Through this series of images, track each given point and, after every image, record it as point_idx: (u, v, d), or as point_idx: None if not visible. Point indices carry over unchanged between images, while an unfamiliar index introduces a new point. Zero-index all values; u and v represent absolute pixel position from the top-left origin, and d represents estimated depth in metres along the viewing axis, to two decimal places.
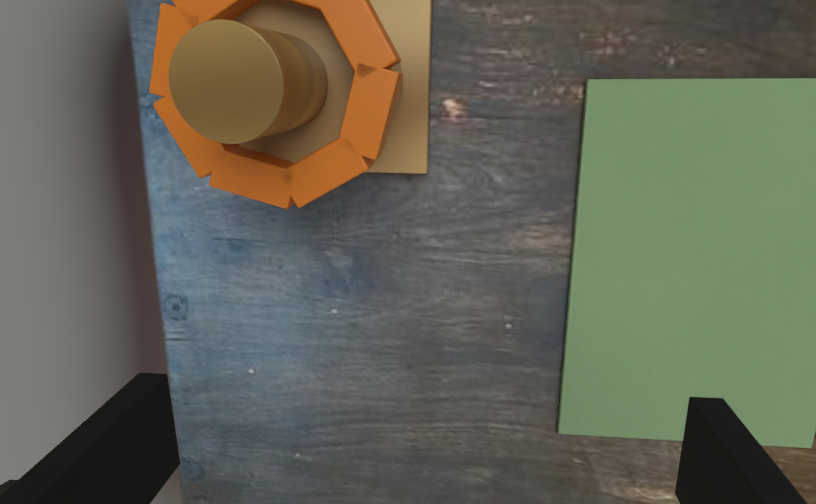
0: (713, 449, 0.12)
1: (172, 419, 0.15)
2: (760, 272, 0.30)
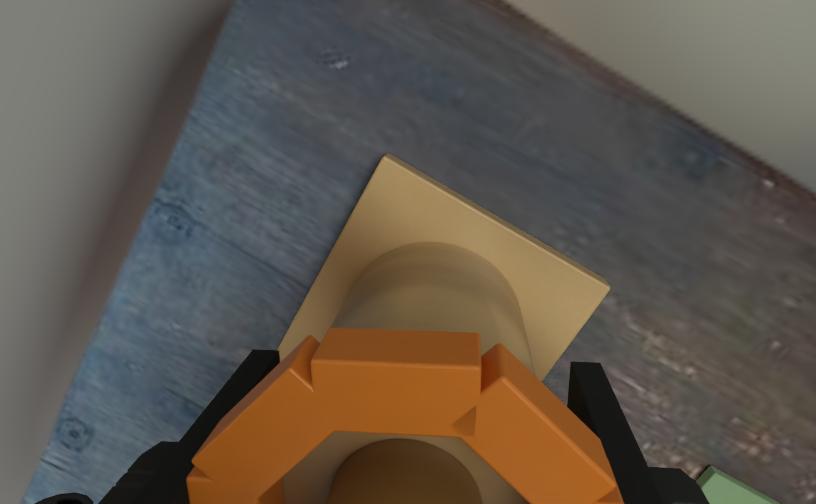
0: (580, 404, 0.14)
1: None
2: None
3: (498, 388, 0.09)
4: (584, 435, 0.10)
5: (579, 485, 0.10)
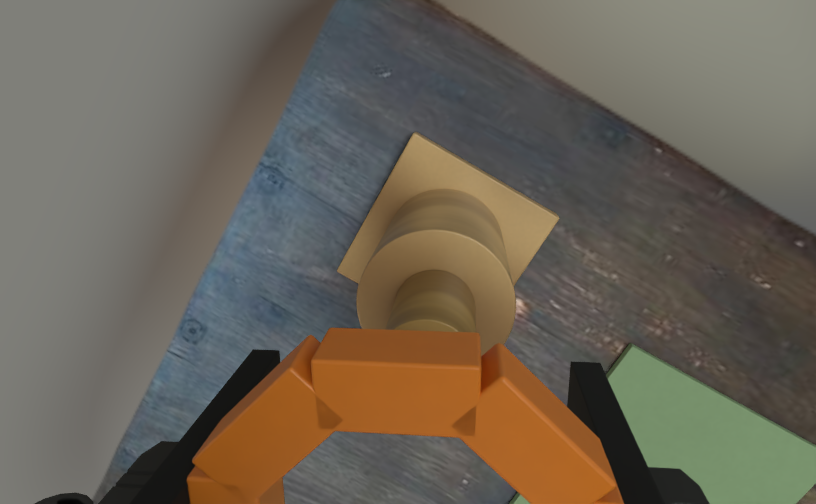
0: (580, 404, 0.14)
1: None
2: None
3: (498, 388, 0.09)
4: (584, 435, 0.10)
5: (579, 485, 0.10)
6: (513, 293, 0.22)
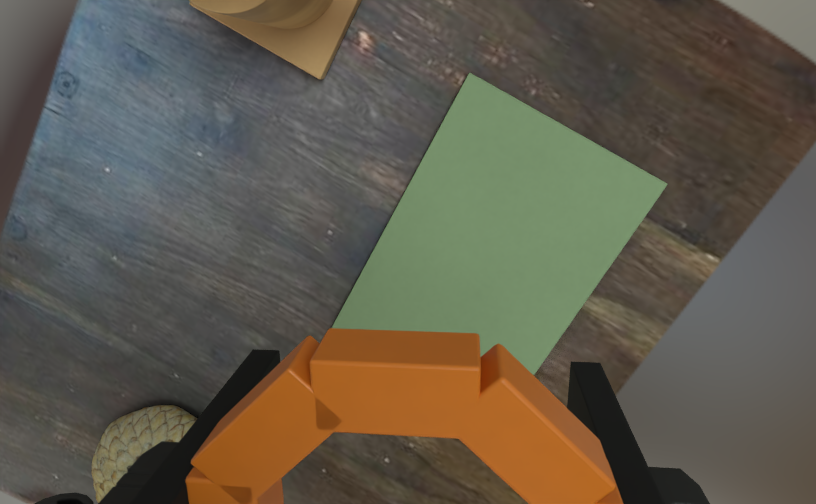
0: (580, 404, 0.14)
1: None
2: (522, 277, 0.38)
3: (497, 389, 0.09)
4: (584, 436, 0.10)
5: (579, 486, 0.10)
6: None
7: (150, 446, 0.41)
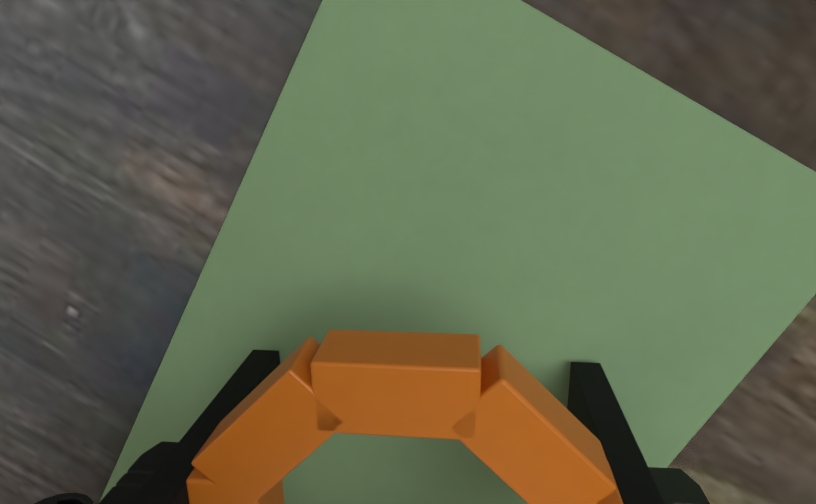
0: (580, 404, 0.14)
1: None
2: None
3: (498, 390, 0.09)
4: (584, 437, 0.10)
5: (579, 487, 0.10)
6: None
7: None
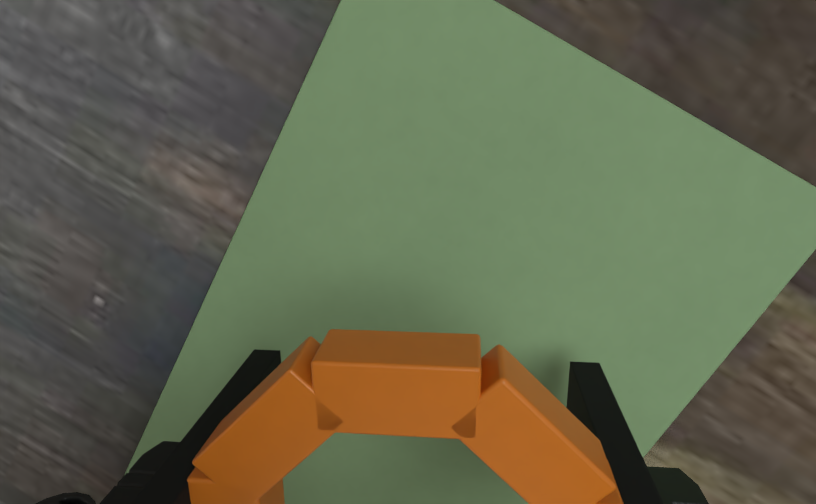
0: (579, 404, 0.14)
1: None
2: None
3: (498, 389, 0.09)
4: (584, 436, 0.10)
5: (579, 486, 0.10)
6: None
7: None
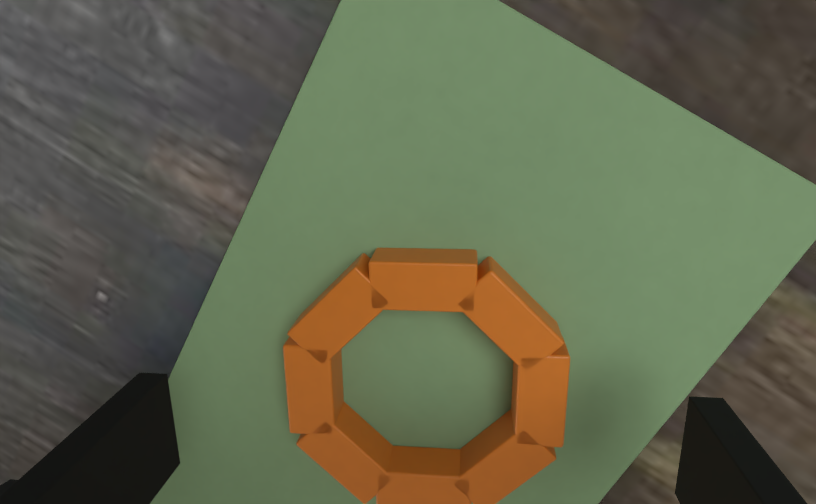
0: (712, 449, 0.12)
1: (171, 418, 0.15)
2: (503, 401, 0.17)
3: (488, 278, 0.15)
4: (545, 315, 0.16)
5: (540, 342, 0.15)
6: None
7: None
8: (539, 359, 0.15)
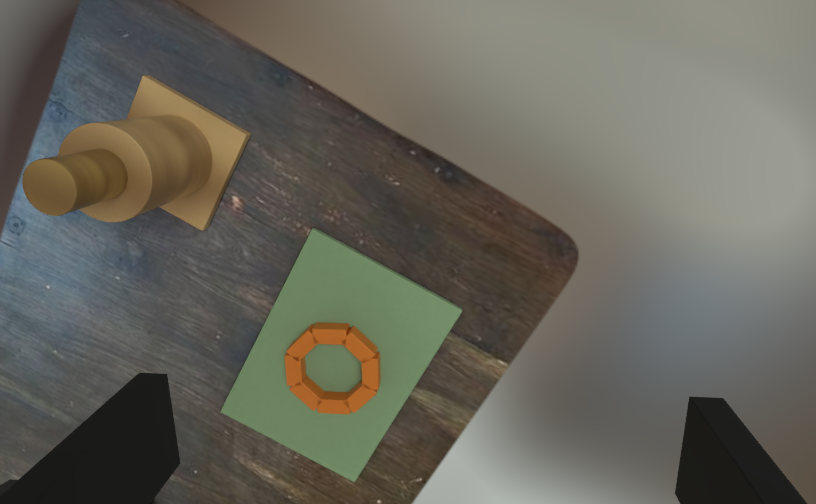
0: (713, 449, 0.12)
1: (171, 418, 0.15)
2: None
3: (349, 334, 0.47)
4: (371, 345, 0.48)
5: (367, 354, 0.47)
6: (148, 163, 0.36)
7: None
8: (367, 360, 0.47)
